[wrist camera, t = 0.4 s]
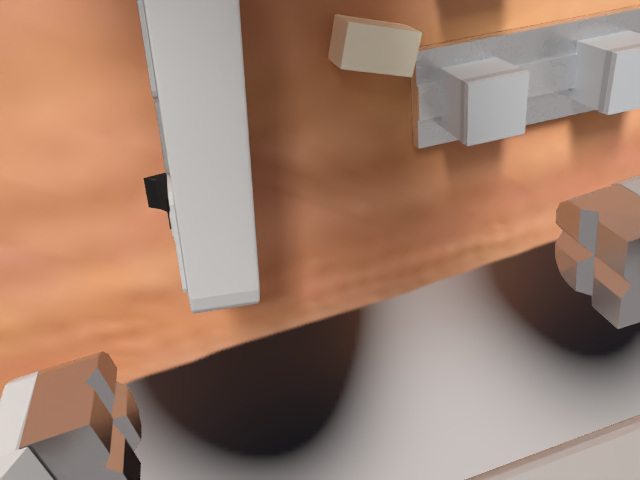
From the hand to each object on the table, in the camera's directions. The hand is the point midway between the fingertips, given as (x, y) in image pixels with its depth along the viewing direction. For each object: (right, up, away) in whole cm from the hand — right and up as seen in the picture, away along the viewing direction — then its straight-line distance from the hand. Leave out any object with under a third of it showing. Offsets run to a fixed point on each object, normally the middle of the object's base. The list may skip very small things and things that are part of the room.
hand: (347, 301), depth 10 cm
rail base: (+21, +19, +50) cm, 57 cm away
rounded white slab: (-12, +16, +42) cm, 46 cm away
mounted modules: (+22, +18, +48) cm, 56 cm away
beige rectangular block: (+4, +20, +44) cm, 48 cm away
